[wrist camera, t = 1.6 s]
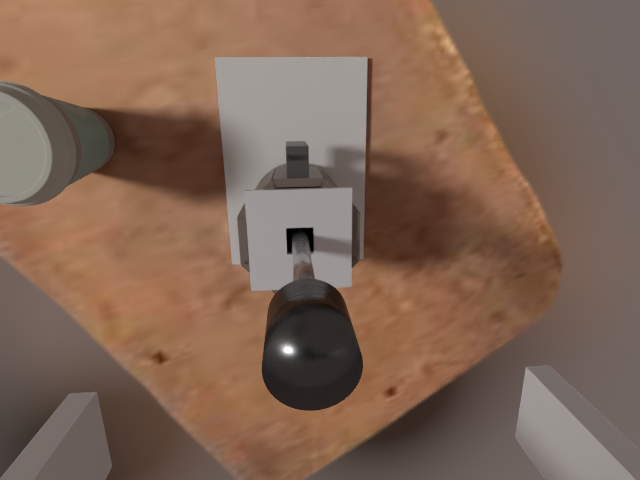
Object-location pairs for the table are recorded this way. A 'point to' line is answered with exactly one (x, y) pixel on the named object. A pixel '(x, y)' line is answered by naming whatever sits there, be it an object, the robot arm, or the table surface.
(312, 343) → the plunger
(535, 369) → the robot arm
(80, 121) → the coffee cup
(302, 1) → the table surface
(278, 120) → the mat
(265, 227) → the grey french press
